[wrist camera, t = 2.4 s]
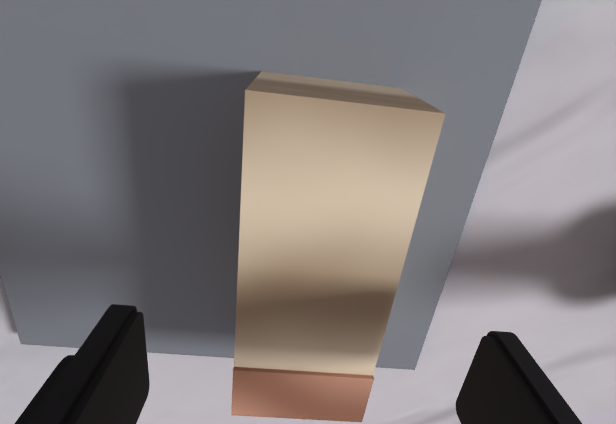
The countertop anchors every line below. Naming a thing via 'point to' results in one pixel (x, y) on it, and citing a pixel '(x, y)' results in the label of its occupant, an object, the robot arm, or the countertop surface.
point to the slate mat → (213, 148)
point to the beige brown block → (323, 238)
